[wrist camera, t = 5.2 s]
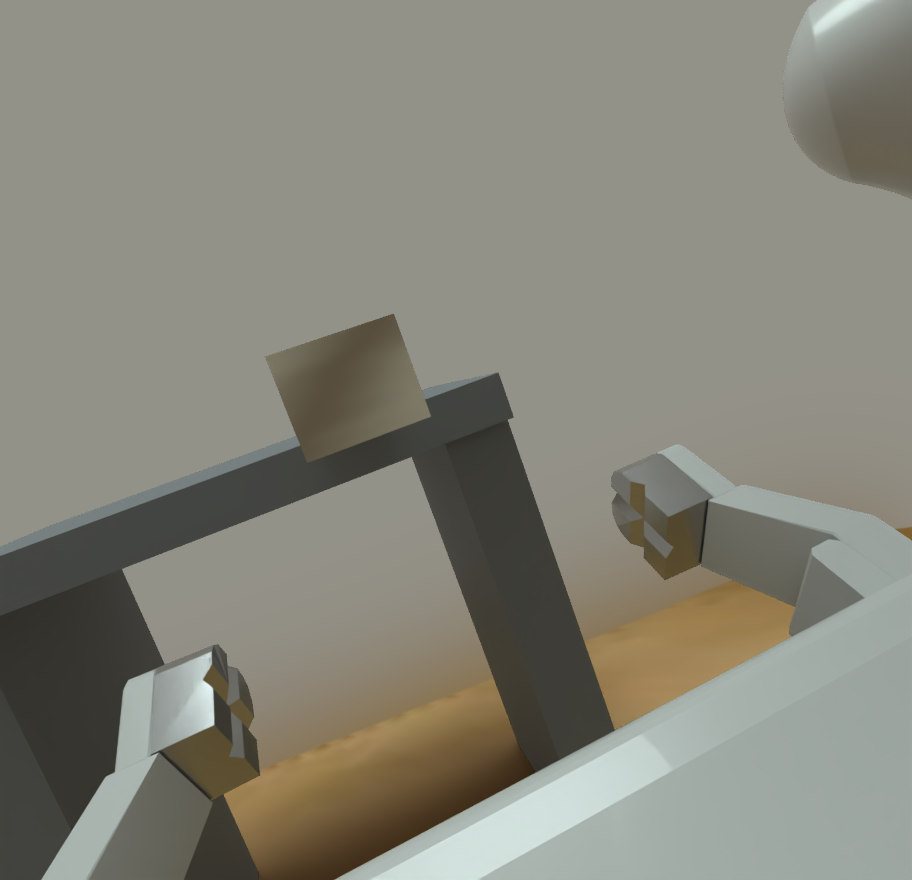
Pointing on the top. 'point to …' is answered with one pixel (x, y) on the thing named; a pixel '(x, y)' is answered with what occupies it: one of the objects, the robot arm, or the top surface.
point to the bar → (348, 387)
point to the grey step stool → (224, 505)
